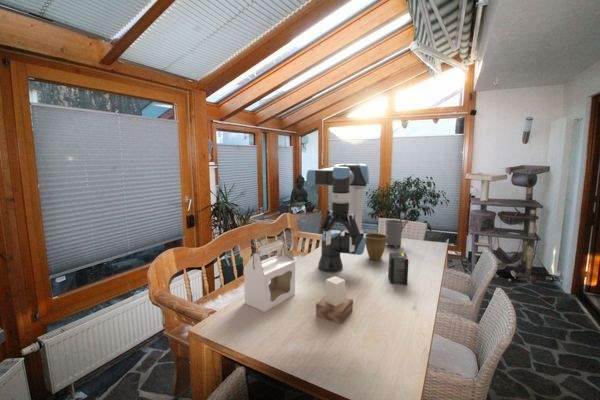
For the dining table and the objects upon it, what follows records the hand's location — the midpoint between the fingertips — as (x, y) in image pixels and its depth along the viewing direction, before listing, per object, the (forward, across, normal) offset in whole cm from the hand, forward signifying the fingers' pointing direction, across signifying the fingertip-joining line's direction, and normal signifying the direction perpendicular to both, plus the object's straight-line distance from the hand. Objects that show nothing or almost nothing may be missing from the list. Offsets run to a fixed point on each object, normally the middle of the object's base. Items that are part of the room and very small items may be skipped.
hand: (339, 247), depth 131 cm
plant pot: (+29, -22, +67) cm, 76 cm away
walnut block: (+28, +4, -8) cm, 29 cm away
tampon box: (+29, +6, +45) cm, 53 cm away
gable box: (+28, -26, -20) cm, 43 cm away
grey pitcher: (+30, -26, +102) cm, 110 cm away
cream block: (+22, +4, -8) cm, 23 cm away
